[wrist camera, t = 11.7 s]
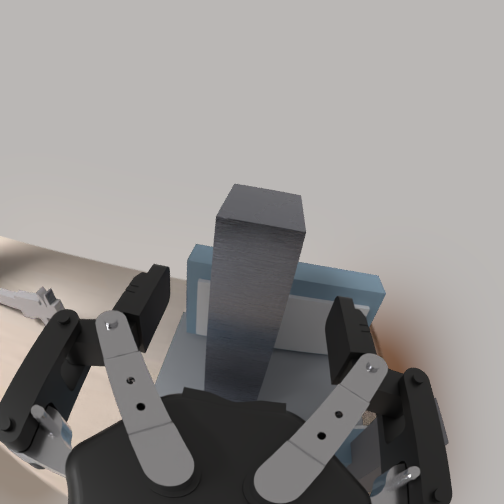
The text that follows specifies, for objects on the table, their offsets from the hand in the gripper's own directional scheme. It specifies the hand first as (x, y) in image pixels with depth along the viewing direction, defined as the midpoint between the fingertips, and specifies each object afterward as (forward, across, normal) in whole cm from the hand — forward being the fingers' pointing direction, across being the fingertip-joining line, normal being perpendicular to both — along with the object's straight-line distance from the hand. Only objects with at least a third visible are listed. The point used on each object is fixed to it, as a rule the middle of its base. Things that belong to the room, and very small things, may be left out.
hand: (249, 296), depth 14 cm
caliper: (+4, +26, +13) cm, 29 cm away
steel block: (+4, 0, +12) cm, 12 cm away
